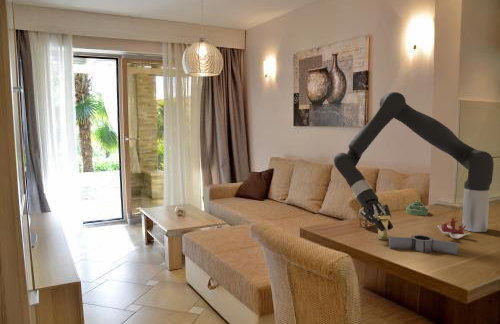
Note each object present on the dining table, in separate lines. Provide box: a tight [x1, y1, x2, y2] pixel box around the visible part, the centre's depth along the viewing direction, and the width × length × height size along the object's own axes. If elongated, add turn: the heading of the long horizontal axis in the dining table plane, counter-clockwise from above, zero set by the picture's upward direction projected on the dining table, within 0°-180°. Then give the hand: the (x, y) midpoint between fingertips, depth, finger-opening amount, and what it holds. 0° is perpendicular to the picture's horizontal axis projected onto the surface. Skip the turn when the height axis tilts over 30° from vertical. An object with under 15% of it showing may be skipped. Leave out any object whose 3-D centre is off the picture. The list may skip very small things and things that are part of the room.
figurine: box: [436, 217, 471, 240], centre depth 156 cm, size 15×12×7 cm
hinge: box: [388, 234, 459, 256], centre depth 141 cm, size 10×22×4 cm, turn 55°
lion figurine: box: [357, 207, 374, 228], centre depth 174 cm, size 15×5×9 cm, turn 153°
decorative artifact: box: [405, 198, 429, 217], centre depth 195 cm, size 10×7×10 cm
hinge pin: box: [377, 213, 391, 241], centre depth 153 cm, size 5×5×9 cm
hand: (387, 229), depth 152 cm, fingers closed on hinge pin, 3 cm apart
